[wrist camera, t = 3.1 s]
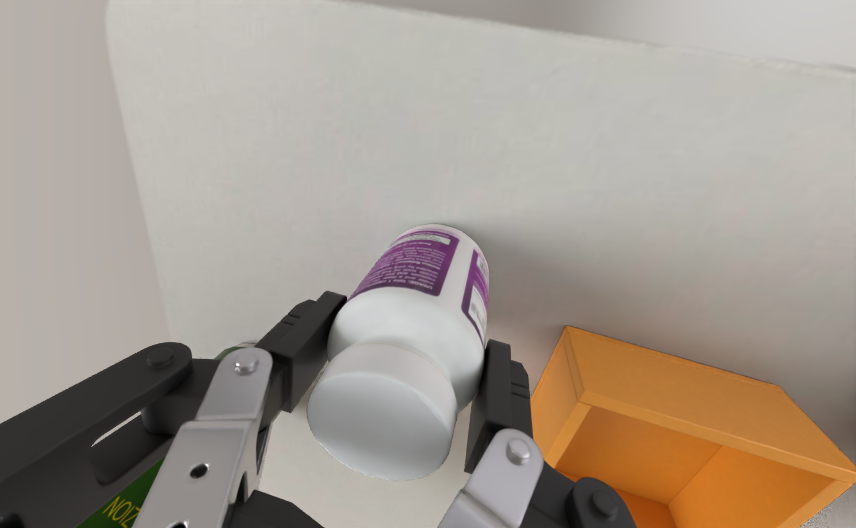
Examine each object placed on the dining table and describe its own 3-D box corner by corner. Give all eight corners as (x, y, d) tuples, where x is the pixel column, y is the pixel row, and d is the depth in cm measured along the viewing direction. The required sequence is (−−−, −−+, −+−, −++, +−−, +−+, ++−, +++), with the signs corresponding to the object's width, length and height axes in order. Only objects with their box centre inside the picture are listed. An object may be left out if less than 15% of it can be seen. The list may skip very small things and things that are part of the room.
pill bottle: (370, 283, 19) (257, 437, 10) (414, 200, 16) (314, 310, 8) (456, 333, 19) (416, 524, 10) (513, 258, 17) (521, 428, 8)
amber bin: (565, 324, 17) (583, 390, 13) (779, 385, 17) (866, 476, 13) (504, 451, 22) (504, 529, 18) (668, 504, 21) (707, 599, 17)
